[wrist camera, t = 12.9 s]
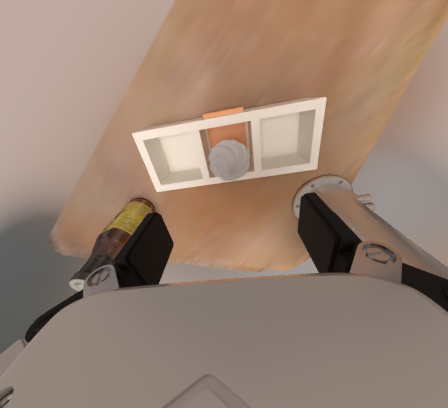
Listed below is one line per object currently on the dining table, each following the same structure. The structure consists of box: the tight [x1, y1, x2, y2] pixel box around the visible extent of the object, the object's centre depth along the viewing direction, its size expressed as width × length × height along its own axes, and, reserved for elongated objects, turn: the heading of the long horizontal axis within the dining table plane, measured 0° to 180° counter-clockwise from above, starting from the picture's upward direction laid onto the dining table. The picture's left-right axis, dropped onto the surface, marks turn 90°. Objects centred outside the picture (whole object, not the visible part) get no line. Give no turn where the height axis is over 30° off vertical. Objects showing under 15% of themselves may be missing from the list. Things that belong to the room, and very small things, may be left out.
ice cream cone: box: [208, 140, 250, 181], centre depth 24 cm, size 6×6×15 cm
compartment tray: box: [132, 97, 327, 192], centre depth 28 cm, size 28×11×7 cm, turn 99°
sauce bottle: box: [69, 198, 154, 292], centre depth 32 cm, size 7×6×20 cm
